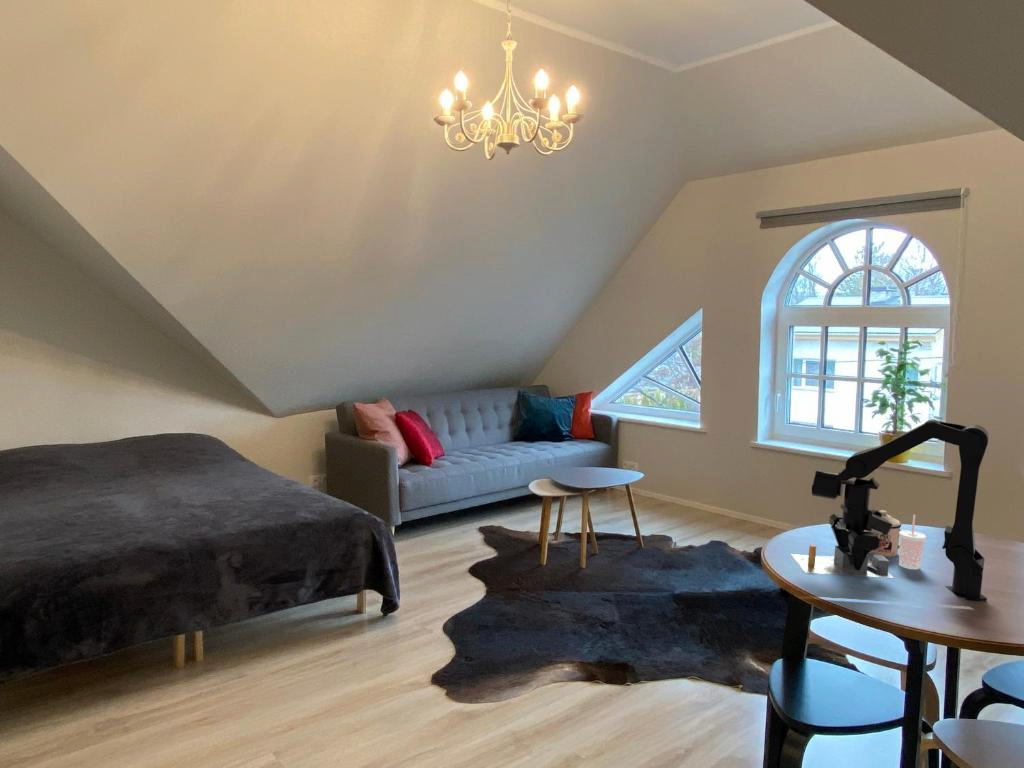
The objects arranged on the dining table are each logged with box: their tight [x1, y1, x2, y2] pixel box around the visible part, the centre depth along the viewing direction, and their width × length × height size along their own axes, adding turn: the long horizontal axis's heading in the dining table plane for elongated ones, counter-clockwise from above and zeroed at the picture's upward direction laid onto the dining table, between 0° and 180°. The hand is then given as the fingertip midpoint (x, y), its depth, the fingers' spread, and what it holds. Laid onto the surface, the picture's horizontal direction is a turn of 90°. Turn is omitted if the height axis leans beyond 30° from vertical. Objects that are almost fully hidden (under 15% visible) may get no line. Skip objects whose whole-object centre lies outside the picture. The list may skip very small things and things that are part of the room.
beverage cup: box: [898, 514, 927, 570], centre depth 190 cm, size 6×6×14 cm
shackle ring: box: [833, 545, 869, 573], centre depth 187 cm, size 6×6×4 cm
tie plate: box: [790, 553, 895, 579], centre depth 189 cm, size 13×21×4 cm, turn 85°
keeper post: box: [808, 544, 817, 566], centre depth 188 cm, size 2×2×5 cm
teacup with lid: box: [864, 509, 904, 557], centre depth 200 cm, size 12×9×12 cm
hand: (850, 563), depth 188 cm, fingers open, 9 cm apart
